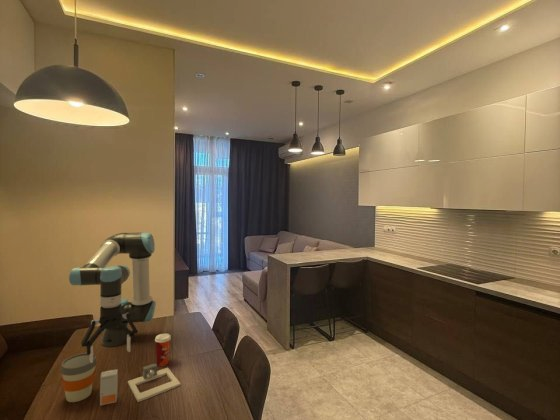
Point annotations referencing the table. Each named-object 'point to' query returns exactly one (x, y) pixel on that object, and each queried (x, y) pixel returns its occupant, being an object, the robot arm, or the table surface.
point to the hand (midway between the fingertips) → (110, 355)
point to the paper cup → (162, 349)
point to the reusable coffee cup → (78, 376)
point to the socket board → (146, 378)
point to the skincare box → (108, 387)
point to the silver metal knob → (150, 372)
